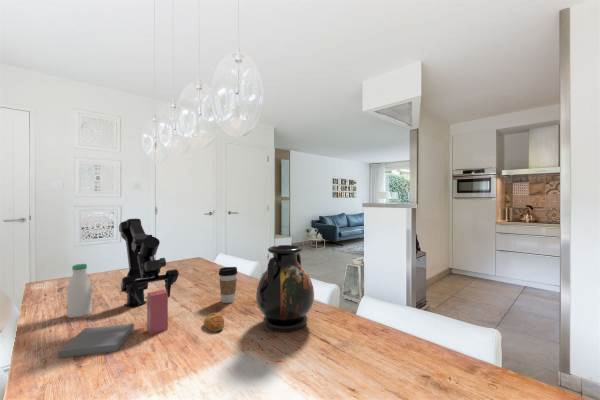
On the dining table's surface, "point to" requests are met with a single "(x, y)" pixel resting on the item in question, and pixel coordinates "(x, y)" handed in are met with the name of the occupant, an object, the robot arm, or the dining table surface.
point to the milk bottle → (79, 292)
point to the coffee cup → (228, 284)
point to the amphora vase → (285, 290)
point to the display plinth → (97, 340)
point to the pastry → (214, 322)
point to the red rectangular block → (157, 311)
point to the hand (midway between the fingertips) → (155, 299)
